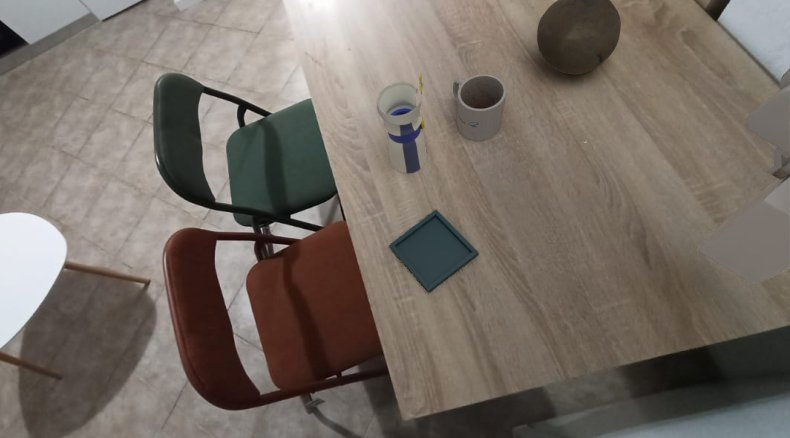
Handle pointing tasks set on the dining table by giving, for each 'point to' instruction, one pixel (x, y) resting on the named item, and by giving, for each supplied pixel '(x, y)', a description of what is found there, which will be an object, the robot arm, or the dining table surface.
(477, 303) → the dining table surface
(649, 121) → the dining table surface
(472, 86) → the mug
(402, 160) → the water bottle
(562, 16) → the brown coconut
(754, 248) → the milk carton
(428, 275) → the tray
